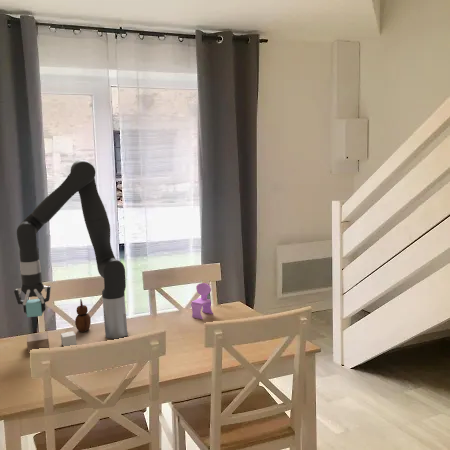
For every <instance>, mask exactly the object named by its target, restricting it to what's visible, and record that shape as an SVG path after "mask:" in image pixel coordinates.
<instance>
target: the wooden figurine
mask: <svg viewBox="0 0 450 450" xmlns="http://www.w3.org/2000/svg"><path fill="white" fill-rule="evenodd" d="M79 299H80V301H79V302H80V304H79V305H78V306H77V307H76V317H75V321H74V324H75V327H76V329H77V331H78V332H80V333H85V332H87V331H89V329H90V327H91V323H92V322H91V316H90V314H89V313H88V310H89V309H88V306H87V305H85V304H84V303H83V300H82V298H79Z"/></svg>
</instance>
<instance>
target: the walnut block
mask: <svg viewBox="0 0 450 450" xmlns="http://www.w3.org/2000/svg"><path fill="white" fill-rule="evenodd" d="M26 347H27V354H30V353H29V352H30V350H32V349H39V348H49V349H50V342H49V333H48V331H46V332H45V331H44V332H39V333H32V334H27V335H26Z"/></svg>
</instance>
